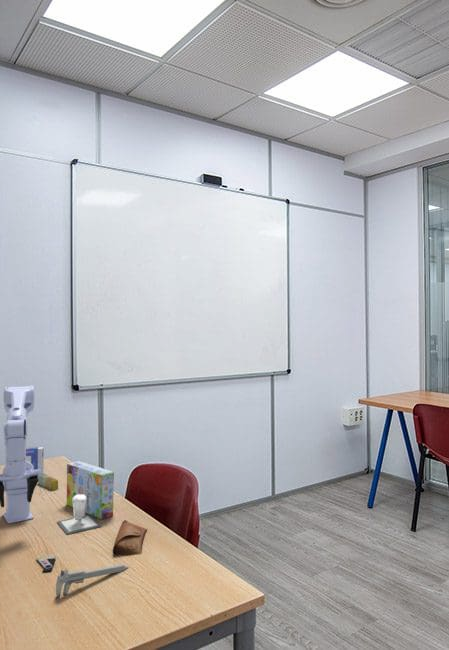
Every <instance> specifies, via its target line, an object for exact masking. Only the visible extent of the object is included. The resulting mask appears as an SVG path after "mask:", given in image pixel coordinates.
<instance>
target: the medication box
mask: <svg viewBox="0 0 449 650" xmlns="http://www.w3.org/2000/svg"><path fill="white" fill-rule="evenodd" d="M37 485H40V486H42V487H44V488H46V489H48V490H50V491H51V492H52V491H57V490H59V480H58V479H57V478H55V477H52V476H50V475H49V474H45V472H44V473H43V474H41V477H38V483H37Z"/></svg>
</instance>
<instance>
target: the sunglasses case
mask: <svg viewBox="0 0 449 650" xmlns="http://www.w3.org/2000/svg"><path fill="white" fill-rule="evenodd" d="M147 531H148V529H147V528H145V527H142V526H140V525H137V524H134V523H132V522H130V521H128V520H127V519H125V520H123V521H122V522H121V523H120V527H119V529H118V533H117V534H116V538H115V541H114V545H113V547H112V554H113V555H114V556H115V557H117V556H135V555H137V556H139V555H142V551H143V542H144V539H145V535H146V533H147Z"/></svg>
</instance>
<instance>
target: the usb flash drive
mask: <svg viewBox="0 0 449 650" xmlns="http://www.w3.org/2000/svg"><path fill="white" fill-rule="evenodd" d="M56 559H57V555H48V558H46V557H45V556H41V557H37V558H36V559H35V561H38V562H39V563H40V564H41V565H42V567H43V568H42V573H44V574H45V573H52V571H53V569H54V565H55V563H56V561H57V560H56Z"/></svg>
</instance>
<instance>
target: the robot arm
mask: <svg viewBox="0 0 449 650" xmlns="http://www.w3.org/2000/svg"><path fill="white" fill-rule="evenodd" d="M3 404H4V410H5V413H7V415H6V421H5V422H4V423H3V437H4V446H5V466H4V467H3V469H2V473H1V474H0V508H5V512H2V516H3V517H4V519H5V521H6V522H7V524H12V523H17V522H22V521H28V520H32V519H34V516H33V514H32V513H31V502H32V499H33V495H34V491H35V489H36V486H37V485H38V477H41V470H40V469H35V470H34V467H33V465H32V464H31V463H29V462H28V461H26V448H27V437H28V419H27V418H28V415H29V413H31V412H32V411H34V408H35V406H34V405H35V387H34V385H27V386H5V387H4V388H3Z"/></svg>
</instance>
